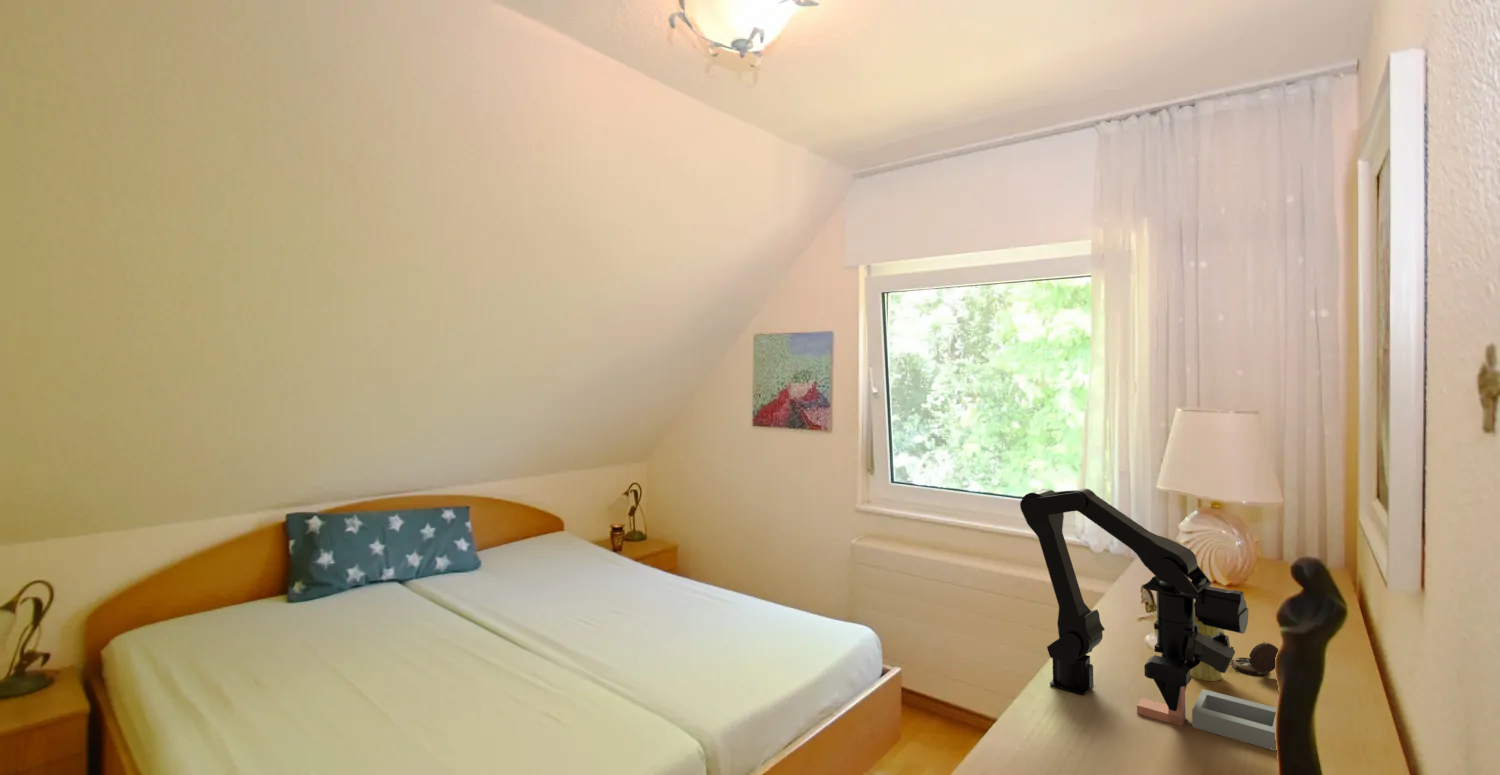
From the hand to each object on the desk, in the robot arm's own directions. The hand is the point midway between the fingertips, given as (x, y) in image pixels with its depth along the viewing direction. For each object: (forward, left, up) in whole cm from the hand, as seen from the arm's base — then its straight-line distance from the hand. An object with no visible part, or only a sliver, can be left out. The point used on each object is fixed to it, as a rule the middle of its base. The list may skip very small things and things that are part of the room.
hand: (1176, 703), depth 120 cm
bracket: (-2, 0, -3) cm, 4 cm away
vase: (+1, +23, -3) cm, 23 cm away
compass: (+7, +31, -3) cm, 32 cm away
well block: (+9, +4, -3) cm, 10 cm away
